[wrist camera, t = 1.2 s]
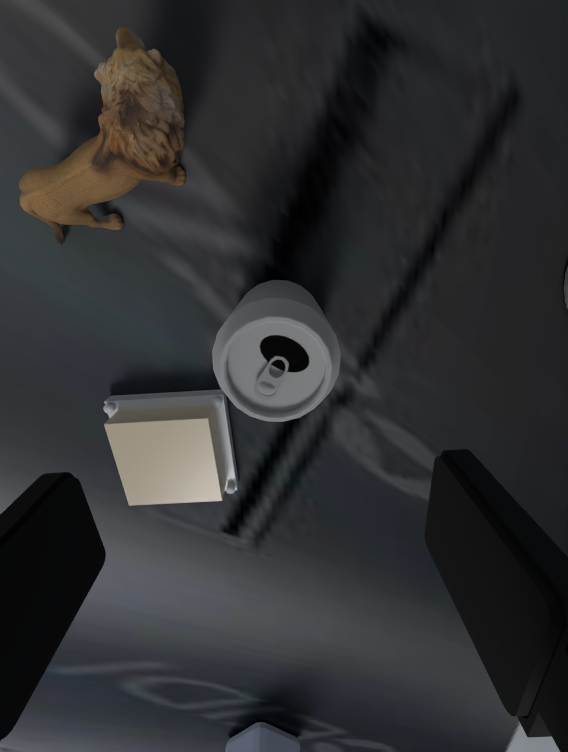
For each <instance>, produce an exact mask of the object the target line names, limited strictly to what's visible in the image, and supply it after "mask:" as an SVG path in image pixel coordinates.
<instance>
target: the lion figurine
mask: <svg viewBox="0 0 568 752" xmlns="http://www.w3.org/2000/svg"><path fill="white" fill-rule="evenodd" d="M116 40H117V48H116V49H115V50H114V52H113V54H112V56H111V57H110V58H109V59H108V62H102V63H100V64H99V67H98V69H96V71H95V73H94V75H95V78H96V79H97V80H98V81H99V82H100V83H101V85H102V86H101V94H102V100H103V107H102V114H101V115H99V117H98V122H99V126H100V129H101V130H100V133H99V135H97V136H95V137H93V138H92V139H90V140H88V141H86V142H85V143H84V144H82V145H81V146H80V147H79V148H77V149H76V150H75V151H74V152H73V153H72V154H71V155H70V156H69V157H68V158H66V159H65V160H64V161H62V162H61V163H59V164H57V165H54V166H49V167H35V168H32V169H30V170H28V171H27V172H26V173H25V174H24V176H23V177H22V178H21V180H20V182H19V187H20V189H21V192H22V194H21V196H20V204H21V206H22V208H23V209H24V210H25V211H26V212H27V213H28V214H30V215H32V216H35V217H37V218H39V219H41V220H42V221H44V222H46V223H48V224H49V225H50V226H51V227H52V228H53V230H54V231H55V237H56V240H57V244H58V245H59V246H61V244H62V243H64V242H65V240H66V238H65V234H64V231H63V229H62V228H61V227H60V226H59V225H58V223H60V224H65V225H82V224H85V225H88V226H91V227H103V228H107V229H111V230H120V229H122V227H123V221H122V219H121V217H120V216H119V215H117V214H110V215H107V216H104V217H95V216H94V215H93V214H92V213H91V212H90V211H89V210H87V206H89V205H92V204H95V203H101V202H106V201H110V200H113V199H116V198H118V197H120V196H122V195H124V194H125V193H127V192H129V191H130V190H131V189H133V188H134V187H135V186H137V185H138V184H139V183H140V181H141V180H143V179H144V180H150V181H161V182H166V183H169V184H172V185H177V186H181V185H183V184H184V183H185V179H186V176H185V172H184V171H183V170H182V169H181V167H174V168H173V166H175V165H177V164H178V163H179V159H180V158H179V152H180V151H182V150H183V148H184V128H183V127H184V111H183V109H184V104H183V102H182V101H183V99H182V92H181V88H180V84H179V79H178V77H177V75H176V72H175V70H174V68H172V66H170V65H169V64H168V63H167V62H166V61H165V60H164V59H163V58H162V56H161V54H160V53H159V51H158V50H156V49H152V50H149V51H146V49H145V46H144V43H143V42H142V40H141V39H140V38H139V37H138V36H136V35H135V34H134V33H132V31H131V30H130V29H128V28H119V29H118V30H117V33H116Z"/></svg>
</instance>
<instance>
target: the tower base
mask: <svg viewBox="0 0 568 752" xmlns="http://www.w3.org/2000/svg"><path fill="white" fill-rule="evenodd" d="M104 402H105V406H104V408H103V409H104V411H105V412H106V413H107V414H108V416H109V420H108V421H107V422H106V423H105V424H104V426H105V429H106V432H107V435H108V439H109V442H110V445H111V448H112V452H113V455H114V458H115V461H116V464H117V468H118V471H119V474H120V477H121V481H122V484H123V487H124V490H125V493H126V497H127V500H128V503H129V505H148V504H168V503H187V502H207V501H222V499H223V495H224V491H226V492H227V493H229V494H232V493H234V492H235V490H237V488H238V483H239V482H238V475H237V468H236V461H235V454H234V447H233V440H232V433H231V426H230V419H229V412H228V405H227V398H226V394H225V393H224V392H223V390H222V389H219V390H202V391H185V392H167V393H150V394H133V395H116V396H110V397H109V398H108V399H106V400H105V401H104Z"/></svg>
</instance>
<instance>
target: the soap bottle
mask: <svg viewBox="0 0 568 752" xmlns="http://www.w3.org/2000/svg"><path fill="white" fill-rule="evenodd" d="M226 752H300V744H299V741H298V739H297V738H296V737H295V736H293V735H291V734H289V733H286V732H284V731H282V730H280V729H278V728H276V727H274V726H271V725H269V724H267V723H265V722H258V723H255V724H253V725H252V726H250V727H248V728H247V729H245V730H243V731H242V732H240V733H239V734H237V735H235V736H234V737H232V738H230V740H229V741H228V743H227V746H226Z"/></svg>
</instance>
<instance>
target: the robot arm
mask: <svg viewBox="0 0 568 752" xmlns="http://www.w3.org/2000/svg"><path fill="white" fill-rule="evenodd" d="M564 295H565V303H566V306H567V309H568V266H567V270H566V273H565V282H564ZM425 541H426V545H427V548H428V550H429V552H430V554H431V556H432V558H433V560H434V563H435V565H436V567H437V569H438V571H439V573H440V575H441V577H442V579H443V581H444V583H445V585H446V587H447V589H448V592H449V594H450V596H451V598H452V600H453V602H454V604H455V606H456V608H457V610H458V612H459V614H460V616H461V618H462V621H463V623H464V625H465V627H466V629H467V631H468V633H469V635H470V637H471V639H472V641H473V643H474V645H475V647H476V650H477V652H478V654H479V656H480V658H481V660H482V662H483V664H484V666H485V668H486V670H487V672H488V674H489V677H490V679H491V681H492V683H493V685H494V687H495V689H496V691H497V693H498V695H499V697H500V699H501V701H502V703H503V705H504V707H505V709H506V710H507V711H508V713H509V714H510V715H511V716H517V717H518V719H519V721H520V723H521V725H522V727H523V729H524V731H525V733H526V735H527V737H544V736H545V737H547V736H552V737H553V739H554V741H555V743H556V745H557V746H558V748H559V750H560V752H568V557H567V556H566V555H565V554H564V553H563V552H562V551H561V549H560V548H559V547H558V546H557V545H556V544H555V543H554V542H553V541H552V540H551V539H550V537H549V536H548V535H547V534H546V533H545V532H544V531H543V530H542V529H541V528H540V527H539V525H538V524H537V523H536V522H535V521H534V520H533V519H532V518H531V517H530V516H529V514H528V513H527V512H526V511H525V510H524V509H523V508H522V507H521V506H520V505H519V504H518V503H517V502H516V501H515V500H514V498H513V497H512V496H511V495H510V494H509V493H508V492H507V491H506V490H505V489H504V488H503V486H502V485H501V484H500V483H499V482H498V481H497V480H496V479H495V478H494V477H493V476H492V474H491V473H490V472H489V471H488V470H487V469H486V468H485V467H484V466H483V465H482V463H481V462H480V461H479V460H478V459H477V458H476V457H475V456H474V455H473V454H472V453H471V452H470V451H469V450H467V449H461V450H445V451H443V452H442V453H441V456H440V457H436V458H435V461H434V468H433V475H432V483H431V490H430V498H429V506H428V513H427V521H426V528H425ZM105 556H106V553H105V549H104V546H103V543H102V541H101V538H100V535H99V532H98V530H97V527H96V524H95V522H94V519H93V516H92V514H91V511H90V508H89V505H88V503H87V500H86V497H85V495H84V492H83V489H82V486H81V484H80V481H79V480H78V479H77V478H74V476H73V475H72V474H71V473H68V472H63V473H47V474H43V475H42V476H40V477H39V478H38V479H37V480H36V481H35V482H34V483H33V484H32V485H31V486H30V487H29V488H28V489H27V490H25V491H24V492H23V493H22V494H21V495H20V496H19V497H18V498H17V499H16V500H15V501H14V502H13V503H12V504H11V505H10V506H9V507H8V508H7V509H6V510H5V511H4V512H3V513H2V514H1V515H0V741H1V739H3V738H5V737H6V736H7V735H8V734H9V733H10V732H11V731H12V729H13V727H14V726H15V724H16V723H17V721H18V719H19V717H20V715H21V714H22V712H23V710H24V708H25V706H26V704H27V703H28V701H29V699H30V697H31V695H32V694H33V692H34V690H35V688H36V686H37V685H38V683H39V681H40V679H41V677H42V676H43V674H44V672H45V670H46V668H47V666H48V665H49V663H50V661H51V659H52V657H53V656H54V654H55V652H56V650H57V648H58V647H59V645H60V643H61V641H62V639H63V637H64V636H65V634H66V632H67V630H68V628H69V627H70V625H71V623H72V621H73V619H74V618H75V616H76V614H77V612H78V610H79V609H80V607H81V605H82V603H83V601H84V599H85V598H86V596H87V594H88V592H89V590H90V589H91V587H92V585H93V583H94V581H95V580H96V578H97V576H98V574H99V572H100V570H101V569H102V567H103V565H104V562H105Z"/></svg>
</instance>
